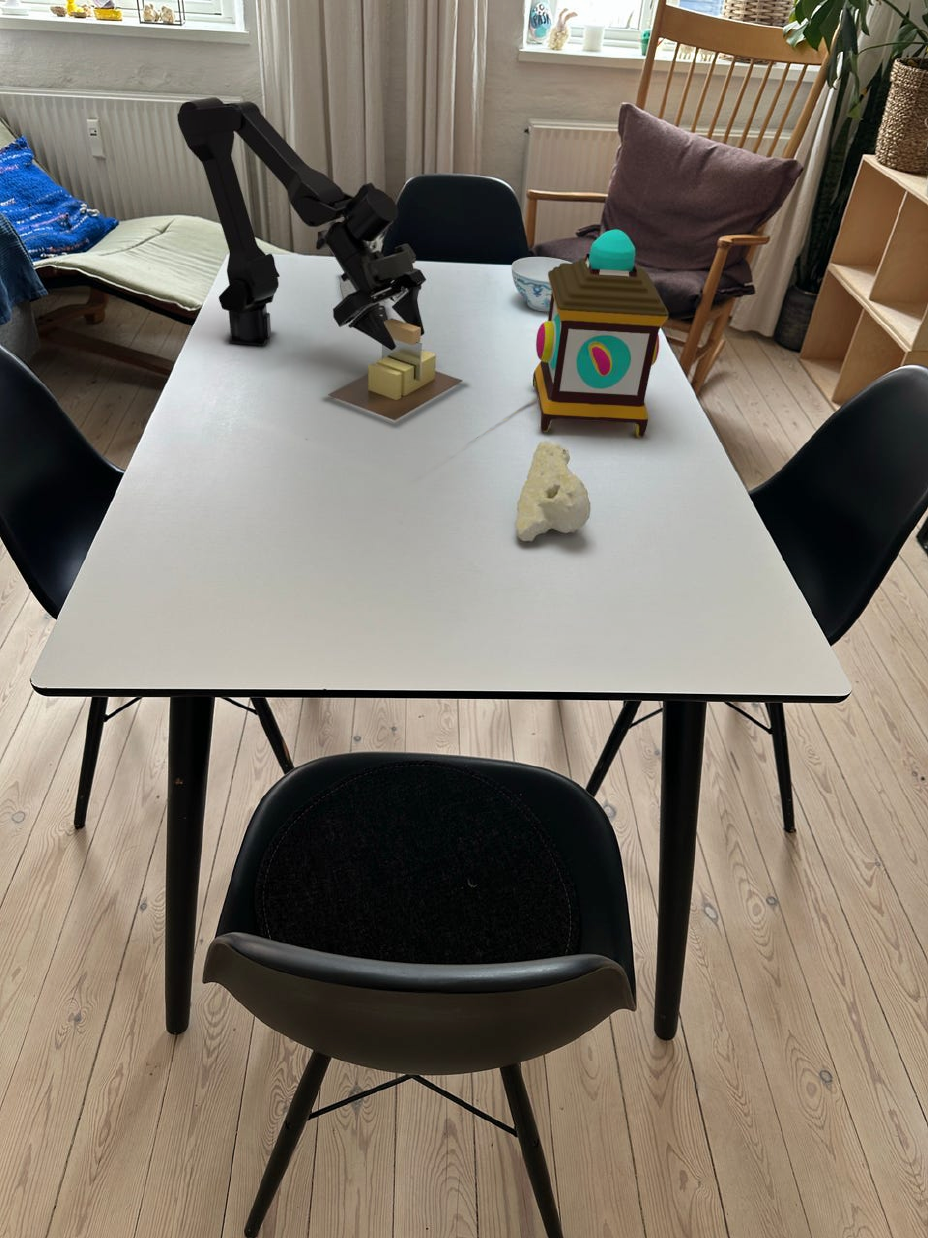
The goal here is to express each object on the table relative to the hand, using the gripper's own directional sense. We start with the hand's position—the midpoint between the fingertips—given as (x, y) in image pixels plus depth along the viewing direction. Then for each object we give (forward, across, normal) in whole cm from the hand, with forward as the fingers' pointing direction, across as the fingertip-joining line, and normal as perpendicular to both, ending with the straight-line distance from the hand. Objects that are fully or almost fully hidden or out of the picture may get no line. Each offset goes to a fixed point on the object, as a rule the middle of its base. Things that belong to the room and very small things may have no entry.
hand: (408, 341), depth 153 cm
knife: (+3, 0, +5) cm, 6 cm away
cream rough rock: (+33, -19, -20) cm, 43 cm away
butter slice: (+5, -4, +7) cm, 9 cm away
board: (+6, -1, +7) cm, 9 cm away
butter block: (+5, +2, +7) cm, 8 cm away
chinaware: (+4, +53, +9) cm, 54 cm away
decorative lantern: (+26, +14, -13) cm, 32 cm away
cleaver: (-16, +29, +29) cm, 44 cm away
